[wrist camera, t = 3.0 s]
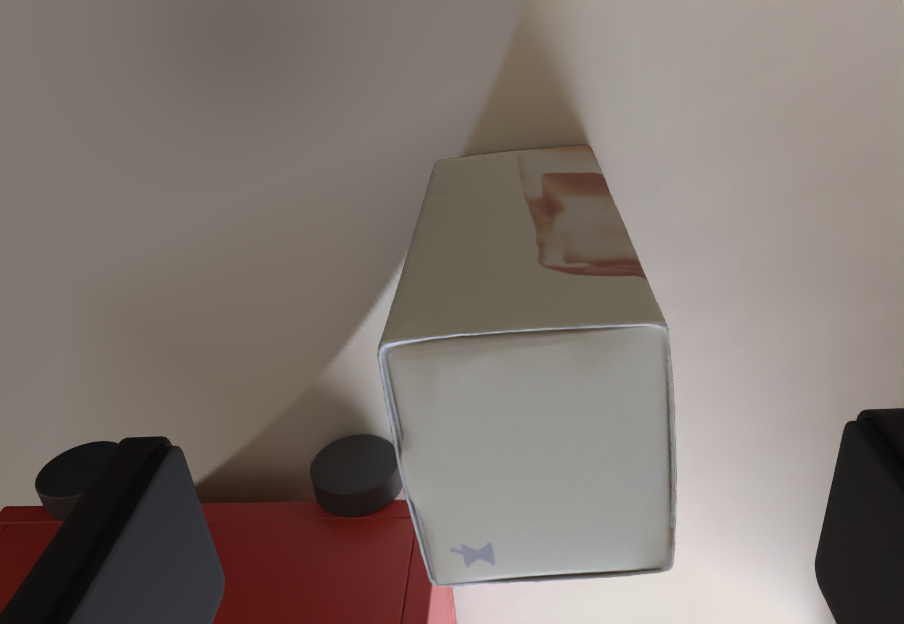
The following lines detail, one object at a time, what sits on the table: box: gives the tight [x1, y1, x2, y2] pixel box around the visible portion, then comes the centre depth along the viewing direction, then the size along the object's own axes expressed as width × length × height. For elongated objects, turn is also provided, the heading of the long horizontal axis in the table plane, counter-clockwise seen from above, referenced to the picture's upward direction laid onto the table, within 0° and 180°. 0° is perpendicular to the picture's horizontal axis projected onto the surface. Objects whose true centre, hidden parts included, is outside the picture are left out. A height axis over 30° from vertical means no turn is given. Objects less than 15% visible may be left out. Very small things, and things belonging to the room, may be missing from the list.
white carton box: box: [377, 145, 677, 586], centre depth 16 cm, size 5×4×10 cm
